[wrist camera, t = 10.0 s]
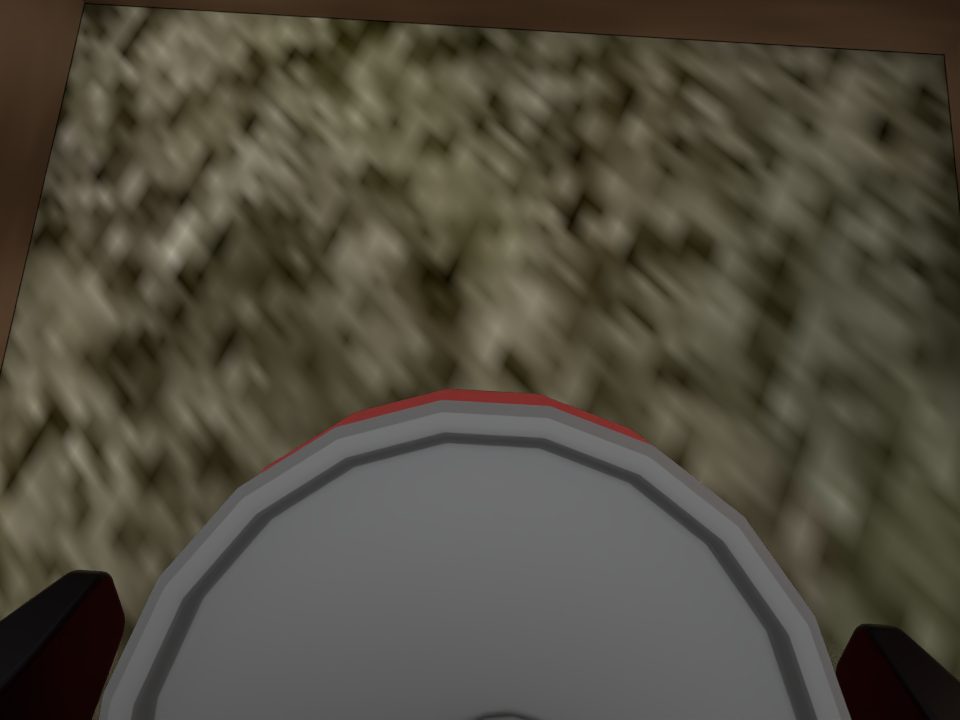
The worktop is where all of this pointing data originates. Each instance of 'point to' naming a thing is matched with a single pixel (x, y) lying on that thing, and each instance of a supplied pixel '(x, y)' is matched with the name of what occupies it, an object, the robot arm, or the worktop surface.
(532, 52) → the worktop surface
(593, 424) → the beer can
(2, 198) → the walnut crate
